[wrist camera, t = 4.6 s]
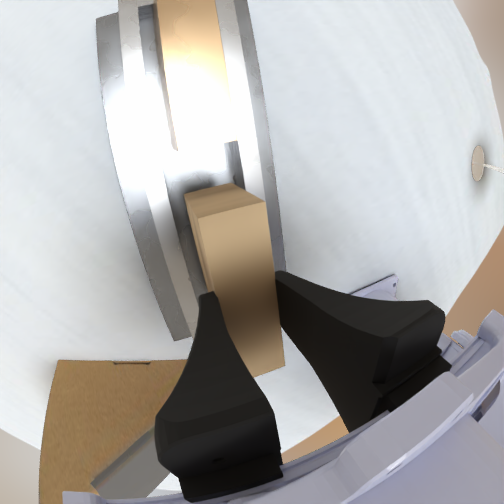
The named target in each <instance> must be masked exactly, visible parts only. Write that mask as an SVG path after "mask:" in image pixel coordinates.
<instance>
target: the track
mask: <svg viewBox="0 0 504 504" xmlns="http://www.w3.org/2000/svg"><path fill="white" fill-rule="evenodd" d="M118 8H119V12H117V13H113V14H110V15H107V16H103V17H100V18H97V19H96V33H97V50H98V62H99V72H100V81H101V89H102V96H103V103H104V110H105V116H106V122H107V127H108V133H109V138H110V143H111V148H112V153H113V157H114V162H115V166H116V170H117V175H118V179H119V183H120V187H121V191H122V194H123V198H124V202H125V206H126V209H127V213H128V216H129V220H130V223H131V226H132V230H133V233H134V236H135V239H136V242H137V245H138V249H139V252H140V255H141V258H142V260H143V263H144V266H145V269H146V272H147V275H148V277H149V280H150V283H151V286H152V288H153V291H154V294H155V296H156V299H157V301H158V304H159V306H160V309H161V311H162V314H163V316H164V319H165V321H166V324H167V326H168V328H169V331H170V333H171V335H172V338H173V340H174V341H177V340H181V339H184V338H188V337H191V336H192V338H193V340H194V337H195V332H196V328H197V321H198V313H199V300H198V297H199V296H200V295H201V294H205V293H208V290H207V286H206V282H205V279H204V275H203V271H202V267H201V264H200V260H199V256H198V252H197V248H196V244H195V240H194V236H193V232H192V228H191V223H190V219H189V215H188V211H187V206H186V202H185V197H184V194H186V193H190V192H194V191H198V190H202V189H206V188H210V187H214V186H218V185H223V184H227V183H233V184H235V185H236V186H238V187H240V188H242V189H244V190H246V191H247V192H249V193H251V194H253V195H255V196H256V197H258V198H260V199H262V200H264V201H265V203H266V210H267V217H268V225H269V232H270V240H271V248H272V256H273V264H274V272H276V271H279V270H282V271H285V272H286V266H285V256H284V246H283V237H282V228H281V219H280V210H279V202H278V194H277V186H276V178H275V170H274V162H273V155H272V148H271V140H270V133H269V126H268V120H267V113H266V106H265V100H264V93H263V87H262V81H261V75H260V69H259V63H258V57H257V51H256V46H255V40H254V35H253V29H252V24H251V19H250V14H249V8H248V3H247V0H118Z"/></svg>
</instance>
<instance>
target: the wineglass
mask: <svg viewBox="0 0 504 504" xmlns="http://www.w3.org/2000/svg"><path fill="white" fill-rule="evenodd" d="M484 167H487V168H490V169H493V170H496V171H498V172H501V173H504V168H500V167H496V166H492V165H487V164H485V159H484V152H483V149H482V148H481V146H477V147H476V148H475V150H474V152H473V157H472V175H473V178H474V180H475V181H479V180H480V179H481V177H482V175H483V171H484Z"/></svg>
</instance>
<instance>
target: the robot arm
mask: <svg viewBox="0 0 504 504" xmlns="http://www.w3.org/2000/svg"><path fill="white" fill-rule="evenodd" d="M397 283H398V276H396V275H393V276H390V277H388V278H386V279H384V280H382V281H380V282H378V283H375V284H373V285H371V286H369V287H367V288H364V289H362V290H360V291H358V292H355V293H353V294H351V295H349V294H345V293H341V292H338V291H335V290H332V289H328V288H325V287H323V286H320V285H317V284H314V283H312V282H309V281H307V280H304V279H302V278H300V277H297V276H295V275H292V274H290V273H288V272H285V271H282V270H279V271H276V272H275V285H276V293H277V301H278V310H279V318H280V325H281V327H282V328H283V330H284V331H285V332H286V334H287V335H288V336H289V338H290V339H291V340H292V341H293V343H294V344H295V345H296V347H297V348H298V349H299V350H300V352H301V353H302V354H303V356H304V357H305V358H306V359H307V361H308V362H309V363H310V365H311V366H312V368H313V369H314V371H315V372H316V374H317V376H318V377H319V379H320V381H321V382H322V384H323V386H324V387H325V389H326V391H327V392H328V394H329V396H330V398H331V399H332V401H333V403H334V405H335V407H336V409H337V410H338V412H339V414H340V416H341V418H342V419H343V422H344V424H345V426H346V428H347V430H348V431H349V434H347V435H345V436H343V437H341V438H340V439H338V440H336V441H334V442H332V443H330V444H328V445H326V446H324V447H322V448H320V449H318V450H315V451H314V452H311V453H309V454H307V455H305V456H302V457H300V458H298V459H295V460H293V461H291V462H288V463H286V464H283V462H282V457H281V452H280V450H281V446H280V441H279V436H278V430H277V425H276V420H275V414H274V412H273V409H272V408H271V406H270V404H269V402H268V400H267V398H266V396H265V395H264V393H263V392H262V390H261V389H260V387H259V386H258V384H257V383H256V381H255V380H254V378H253V377H252V375H251V374H250V372H249V370H248V368H247V367H246V365H245V363H244V362H243V360H242V358H241V356H240V354H239V353H238V351H237V349H236V347H235V345H234V343H233V341H232V339H231V337H230V335H229V333H228V330H227V328H226V324H225V321H224V317H223V314H222V310H221V307H220V303H219V299H218V297H217V296H216V294H215V293H214V291H211V292H208V293H205V294H201V295H200V296H199V297H198V300H199V313H198V321H197V328H196V332H195V337H194V341H193V345H192V348H191V351H190V354H189V357H188V360H187V362H186V365H185V367H184V369H183V372H182V374H181V376H180V378H179V380H178V382H177V383H176V385H175V387H174V389H173V391H172V393H171V394H170V396H169V397H168V399H167V400H166V402H165V403H164V405H163V406H162V408H161V409H160V410H159V412H158V413H157V415H156V416H155V428H154V438H155V447H156V452H157V457H158V461H159V463H160V464H161V465H162V466H163V467H164V468H166V469H167V470H168V471H170V472H171V473H172V474H174V475H175V476H176V477H178V478H179V482H180V486H181V489H182V493H178V494H173V495H165V496H157V497H148V498H135V499H113V500H105V499H104V498H102V497H101V496H99V495H96V494H93V493H89V492H72V491H63V492H62V497H63V504H504V316H503V315H501V314H499V313H498V312H497V311H495V310H492V311H491V312H490V313H489V314H488V315H487V317H486V318H485V319H484V320H483V321H482V323H481V325H480V327H479V329H478V332H477V335H476V336H475V337H473V336H472V335H470V334H469V333H467V332H466V331H464V330H459V331H454V332H453V333H452V335H451V337H452V338H453V339H455V340H456V341H457V342H458V344H460V345H461V346H462V347H463V348H461V347H460V346H459V345H458V344H457V343H455V342H454V341H453V340H452V339H450V338H449V337H448V336H446V335H445V334H444V333H442V330H443V327H444V324H445V313H444V311H443V310H441V309H440V308H439V307H437V306H436V305H434V304H433V303H432V302H430V301H429V300H421V301H399V300H398V299H397V298H395V295H396V289H397Z"/></svg>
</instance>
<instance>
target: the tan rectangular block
mask: <svg viewBox="0 0 504 504" xmlns="http://www.w3.org/2000/svg"><path fill="white" fill-rule="evenodd" d="M184 197H185V202H186V206H187V211H188V215H189V219H190V223H191V228H192V232H193V236H194V240H195V244H196V248H197V252H198V256H199V260H200V264H201V267H202V271H203V275H204V279H205V282H206V286H207V290H208V292H211V291H214V293H215V294H216V296H217V297H218V299H219V303H220V307H221V310H222V314H223V317H224V321H225V324H226V328H227V330H228V333H229V335H230V337H231V339H232V341H233V343H234V345H235V347H236V349H237V351H238V353H239V354H240V356H241V358H242V360H243V362H244V363H245V365H246V367H247V368H248V370H249V372H250V374H251V375H252V377H253V378H254V377H257V376H259V375H262V374H265V373H268V372H270V371H273V370H275V369H278V368H281V367H283V366H285V360H284V350H283V341H282V332H281V325H280V318H279V310H278V301H277V293H276V285H275V272H274V264H273V256H272V248H271V240H270V232H269V225H268V217H267V210H266V203H265V201H264V200H262V199H260V198H258V197H256V196H255V195H253V194H251V193H249V192H247V191H246V190H244V189H242V188H240V187H238V186H236V185H235V184H233V183H227V184H223V185H218V186H214V187H210V188H206V189H202V190H198V191H194V192H190V193H186V194H184Z"/></svg>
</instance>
